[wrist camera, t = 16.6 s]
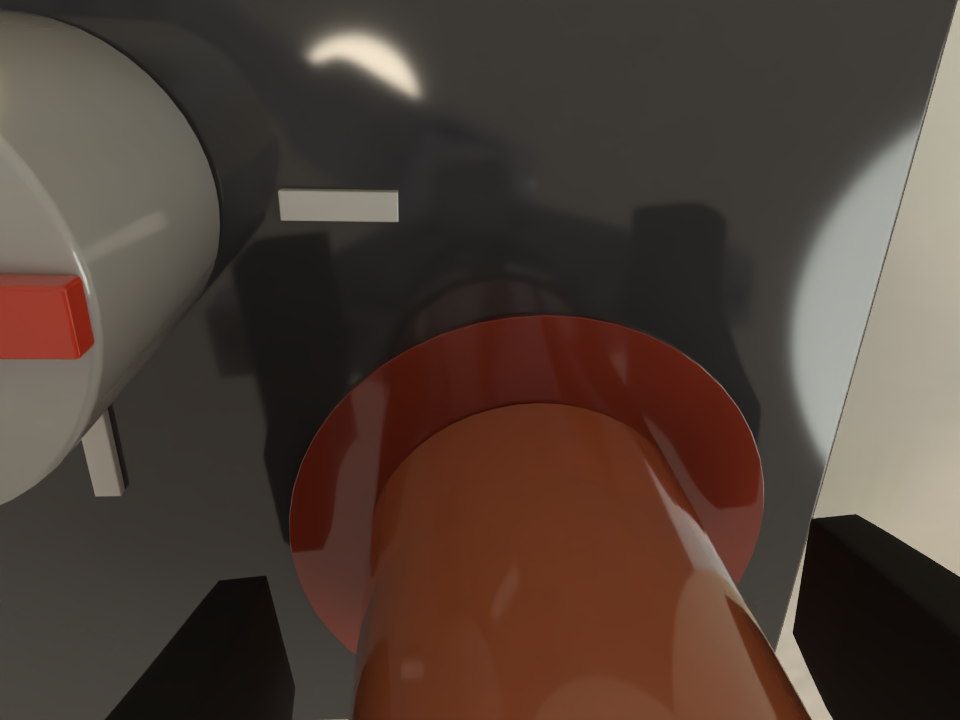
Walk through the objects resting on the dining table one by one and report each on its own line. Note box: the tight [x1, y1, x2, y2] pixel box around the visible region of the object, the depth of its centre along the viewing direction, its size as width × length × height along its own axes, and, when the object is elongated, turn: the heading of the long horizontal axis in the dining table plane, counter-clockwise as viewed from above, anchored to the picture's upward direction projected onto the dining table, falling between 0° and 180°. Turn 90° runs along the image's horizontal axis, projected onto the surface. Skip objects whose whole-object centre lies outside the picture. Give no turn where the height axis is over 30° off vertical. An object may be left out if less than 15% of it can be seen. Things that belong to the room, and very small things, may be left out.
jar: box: [349, 403, 812, 720], centre depth 8 cm, size 5×5×6 cm
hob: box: [0, 0, 958, 720], centre depth 10 cm, size 13×15×2 cm
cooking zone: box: [289, 313, 764, 655], centre depth 11 cm, size 7×7×1 cm
